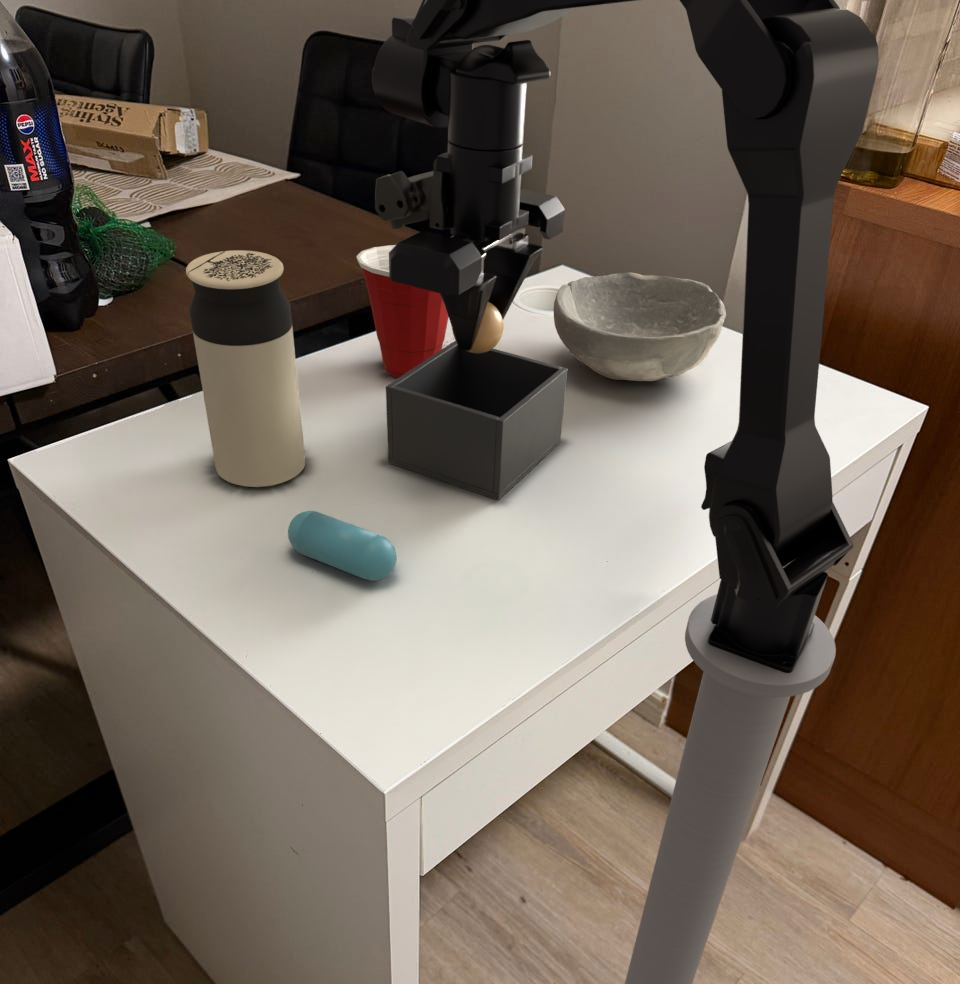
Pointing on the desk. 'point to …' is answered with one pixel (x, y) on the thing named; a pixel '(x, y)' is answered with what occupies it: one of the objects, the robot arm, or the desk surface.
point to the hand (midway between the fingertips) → (478, 339)
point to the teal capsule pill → (342, 545)
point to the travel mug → (247, 366)
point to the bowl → (638, 324)
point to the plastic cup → (402, 315)
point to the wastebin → (475, 418)
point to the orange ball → (488, 331)
